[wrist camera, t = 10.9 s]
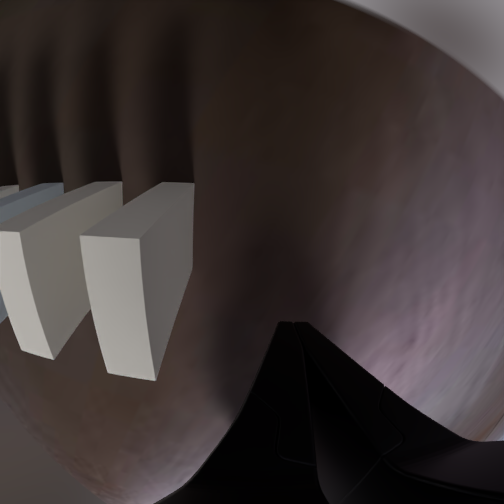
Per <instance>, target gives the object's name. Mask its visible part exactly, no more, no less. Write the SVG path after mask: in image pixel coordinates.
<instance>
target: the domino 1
mask: <svg viewBox="0 0 504 504" xmlns="http://www.w3.org/2000/svg"><path fill="white" fill-rule="evenodd" d="M63 194H64V187H63V183H42V184H39V185H36V186H33V187H30V188H27V189H25V190H22V191H19V192H17V193H14V194H11V195H9V196H6V197H4V198H1V199H0V223H2V222H4V221H6V220H8V219H10V218H12V217H14V216H16V215H18V214H20V213H22V212H24V211H26V210H29V209H31V208H33V207H35V206H37V205H39V204H42V203H44V202H46V201H49V200H51V199H53V198H55V197H58V196H60V195H63ZM7 316H8V313H7V310H6V307H5V304H4V300H3V297H2V294H1V290H0V323H1V322H2V321H3V320H4V319H5V318H6V317H7Z"/></svg>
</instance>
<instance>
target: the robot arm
mask: <svg viewBox="0 0 504 504" xmlns="http://www.w3.org/2000/svg"><path fill="white" fill-rule="evenodd" d="M154 504H504V441H488V442H478V441H472V440H468V439H465V438H462V437H460V436H459V435H457V434H455V433H453V432H452V431H450V430H448V429H447V428H445V427H444V426H442V425H440V424H439V423H437V422H436V421H434V420H432V419H431V418H429V417H428V416H426V415H425V414H423V413H422V412H420V411H419V410H417V409H416V408H414V407H413V406H411V405H410V404H408V403H407V402H406V401H404V400H403V399H402V398H400V397H399V396H398V395H396V394H395V393H394V392H393V391H391V390H390V389H389V388H388V387H386V386H385V387H384V384H382V383H381V382H380V381H379V380H377V379H376V378H375V377H374V376H373V375H371V374H370V373H369V372H368V371H366V370H365V369H364V368H363V367H361V366H360V365H359V364H358V363H357V362H355V361H354V360H353V359H352V358H350V357H349V356H348V355H347V354H346V353H344V352H343V351H342V350H341V349H340V348H338V347H337V346H336V345H335V344H333V343H332V342H331V341H330V340H329V339H327V338H326V337H325V336H324V335H323V334H321V333H320V332H319V331H318V330H317V329H315V328H314V327H313V326H312V325H311V324H309V323H308V322H294V323H293V322H287V321H280V322H278V324H277V327H276V329H275V332H274V334H273V337H272V339H271V342H270V344H269V346H268V349H267V351H266V353H265V356H264V358H263V361H262V363H261V365H260V368H259V370H258V372H257V375H256V377H255V379H254V381H253V384H252V386H251V388H250V390H249V393H248V394H247V397H246V399H245V401H244V403H243V405H242V407H241V409H240V411H239V413H238V415H237V417H236V419H235V420H234V422H233V423H232V425H231V426H230V428H229V429H228V431H227V432H226V434H225V435H224V437H223V438H222V439H221V441H220V442H219V443H218V445H217V446H216V447H215V449H214V450H213V451H212V453H211V454H210V455H209V457H208V458H207V459H206V461H205V462H204V463H203V464H202V466H201V467H200V468H199V469H198V471H197V472H196V473H195V474H194V475H193V476H192V477H191V478H190V480H188V481H187V482H186V483H185V484H184V485H183V486H182V487H180V488H179V489H178V490H176V491H174V492H173V493H171V494H169V495H168V496H166V497H164V498H163V499H161V500H159V501H158V502H156V503H154Z"/></svg>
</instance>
